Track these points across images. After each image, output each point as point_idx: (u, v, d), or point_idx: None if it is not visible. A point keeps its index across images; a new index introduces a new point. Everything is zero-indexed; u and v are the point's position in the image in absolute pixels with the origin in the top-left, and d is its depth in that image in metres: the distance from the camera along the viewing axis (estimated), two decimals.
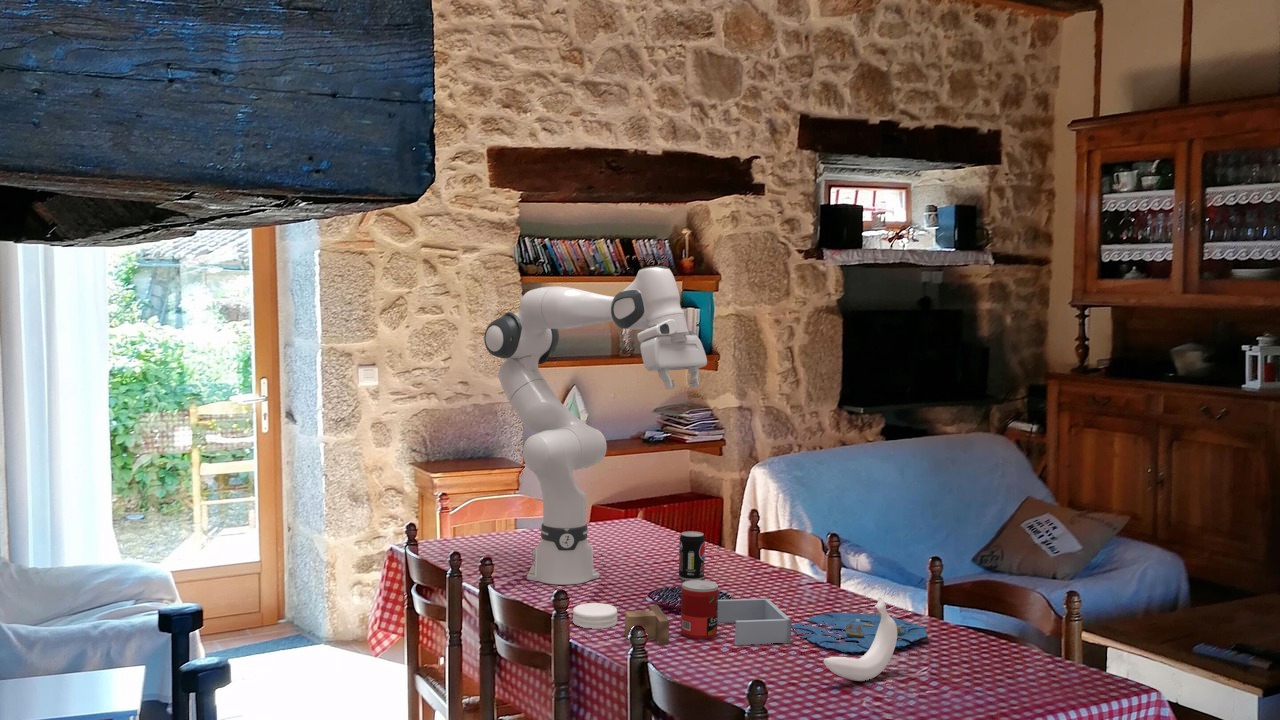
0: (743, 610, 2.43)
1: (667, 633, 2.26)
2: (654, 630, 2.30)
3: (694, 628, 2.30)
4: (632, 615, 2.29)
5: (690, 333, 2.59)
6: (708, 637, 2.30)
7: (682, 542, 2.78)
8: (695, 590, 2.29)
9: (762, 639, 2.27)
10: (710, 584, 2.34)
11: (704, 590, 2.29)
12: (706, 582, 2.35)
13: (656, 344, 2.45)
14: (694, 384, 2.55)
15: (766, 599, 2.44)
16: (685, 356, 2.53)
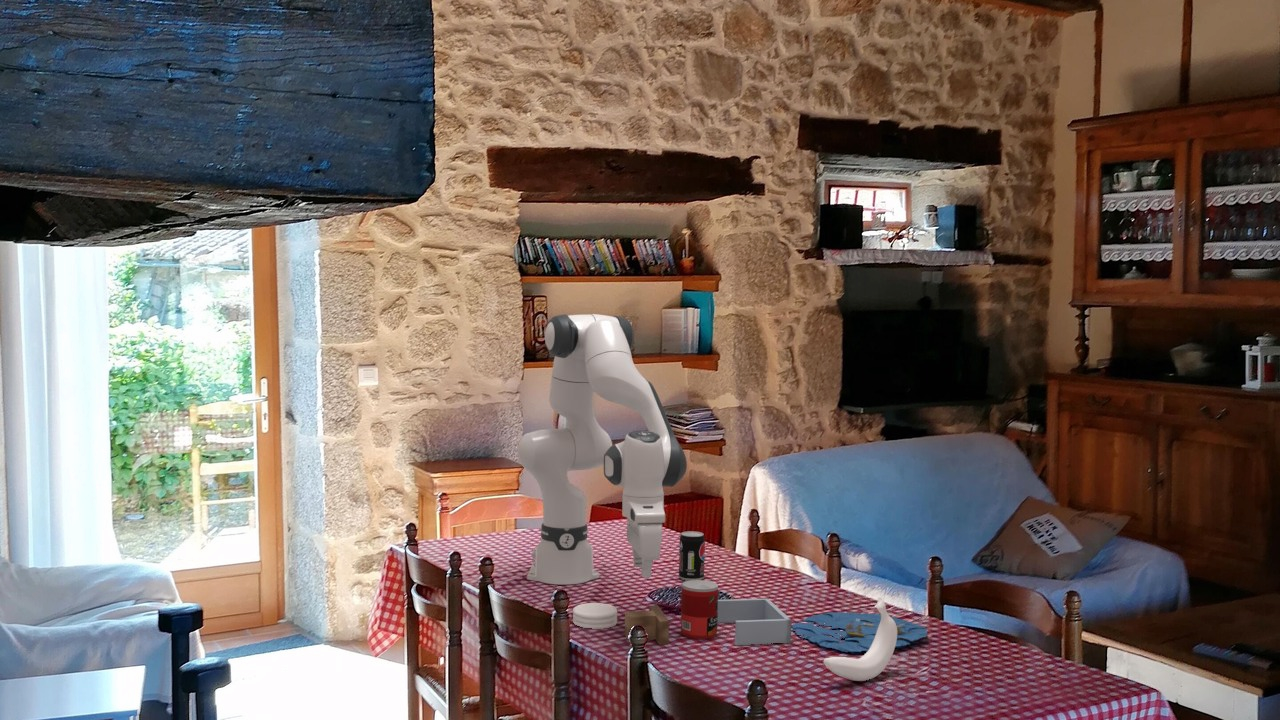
0: (743, 610, 2.43)
1: (667, 633, 2.26)
2: (654, 630, 2.30)
3: (694, 628, 2.30)
4: (632, 615, 2.29)
5: None
6: (708, 637, 2.30)
7: (682, 542, 2.78)
8: (695, 590, 2.29)
9: (762, 639, 2.27)
10: (710, 584, 2.34)
11: (704, 590, 2.29)
12: (706, 582, 2.35)
13: (661, 533, 2.21)
14: (641, 565, 2.34)
15: (766, 599, 2.44)
16: None
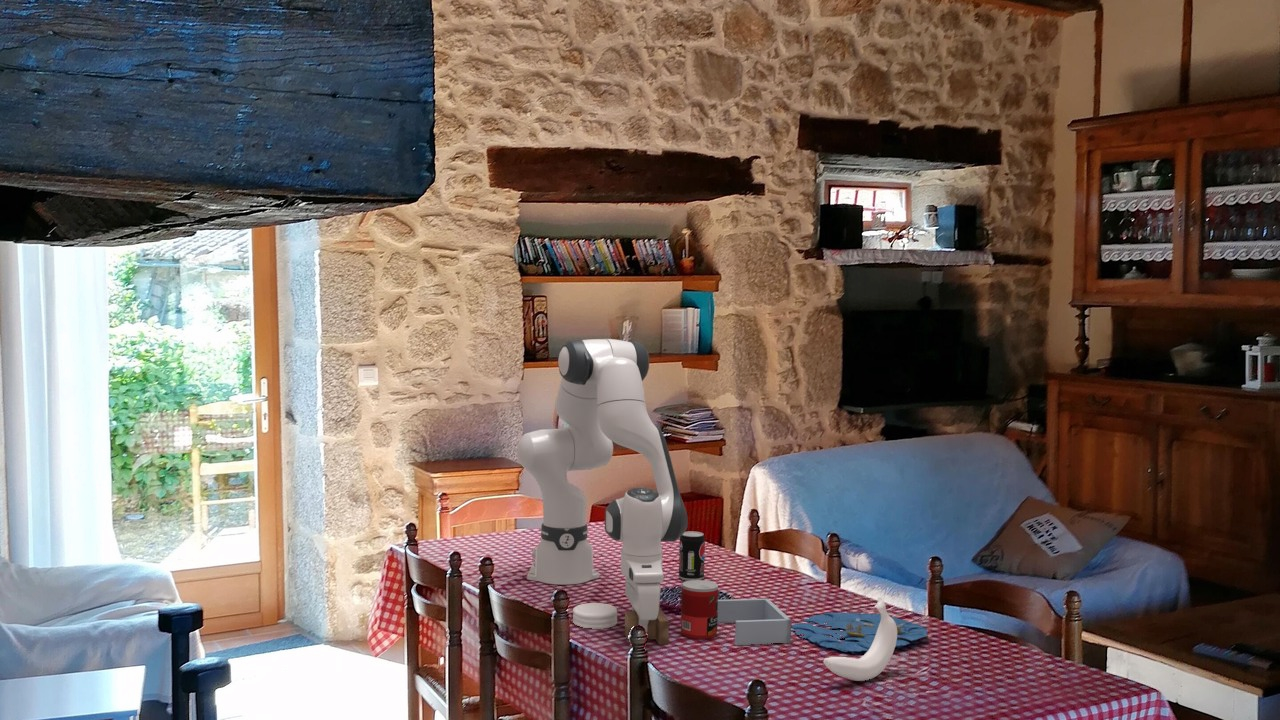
0: (743, 610, 2.43)
1: (667, 633, 2.26)
2: (654, 630, 2.30)
3: (694, 628, 2.30)
4: (632, 615, 2.29)
5: None
6: (708, 637, 2.30)
7: (682, 542, 2.78)
8: (695, 590, 2.29)
9: (762, 639, 2.27)
10: (710, 584, 2.34)
11: (704, 590, 2.29)
12: (706, 582, 2.35)
13: None
14: None
15: (766, 599, 2.44)
16: None
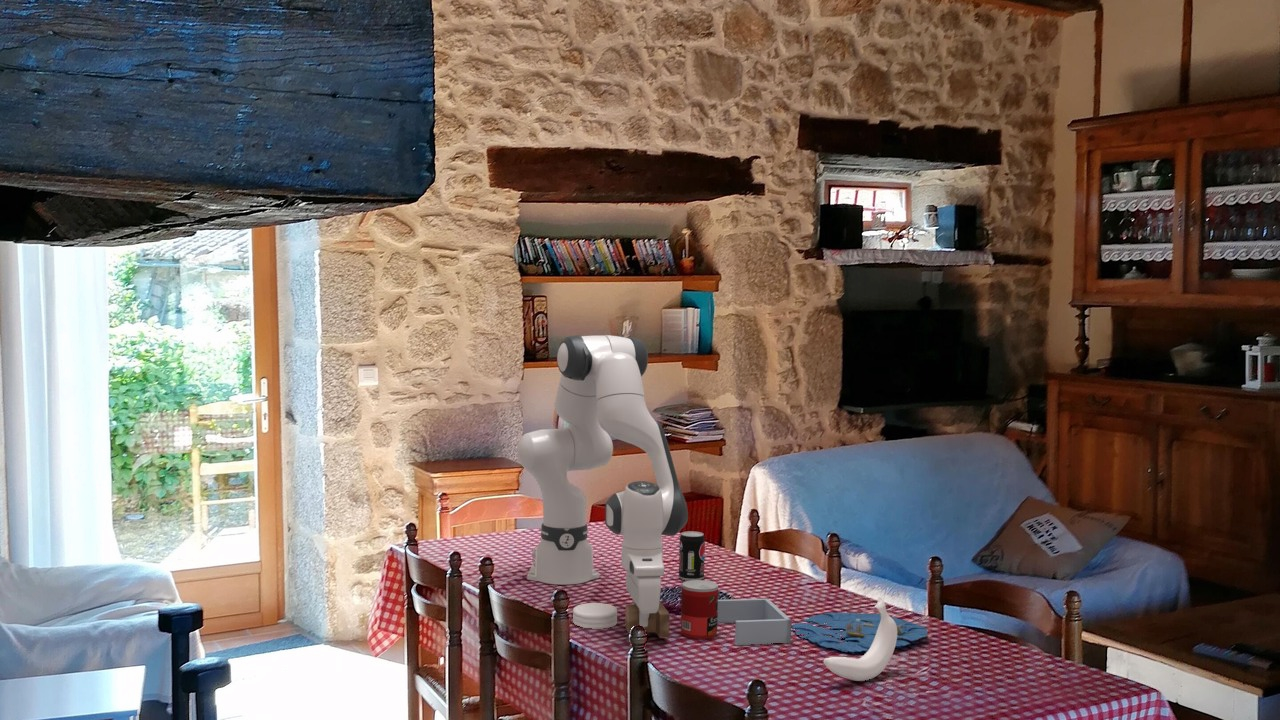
0: (743, 610, 2.43)
1: (668, 626, 2.26)
2: (655, 623, 2.30)
3: (694, 628, 2.30)
4: (633, 608, 2.29)
5: None
6: (708, 637, 2.30)
7: (682, 542, 2.78)
8: (695, 590, 2.29)
9: (762, 639, 2.27)
10: (710, 584, 2.34)
11: (704, 590, 2.29)
12: (706, 582, 2.35)
13: (660, 587, 2.22)
14: None
15: (766, 599, 2.44)
16: None
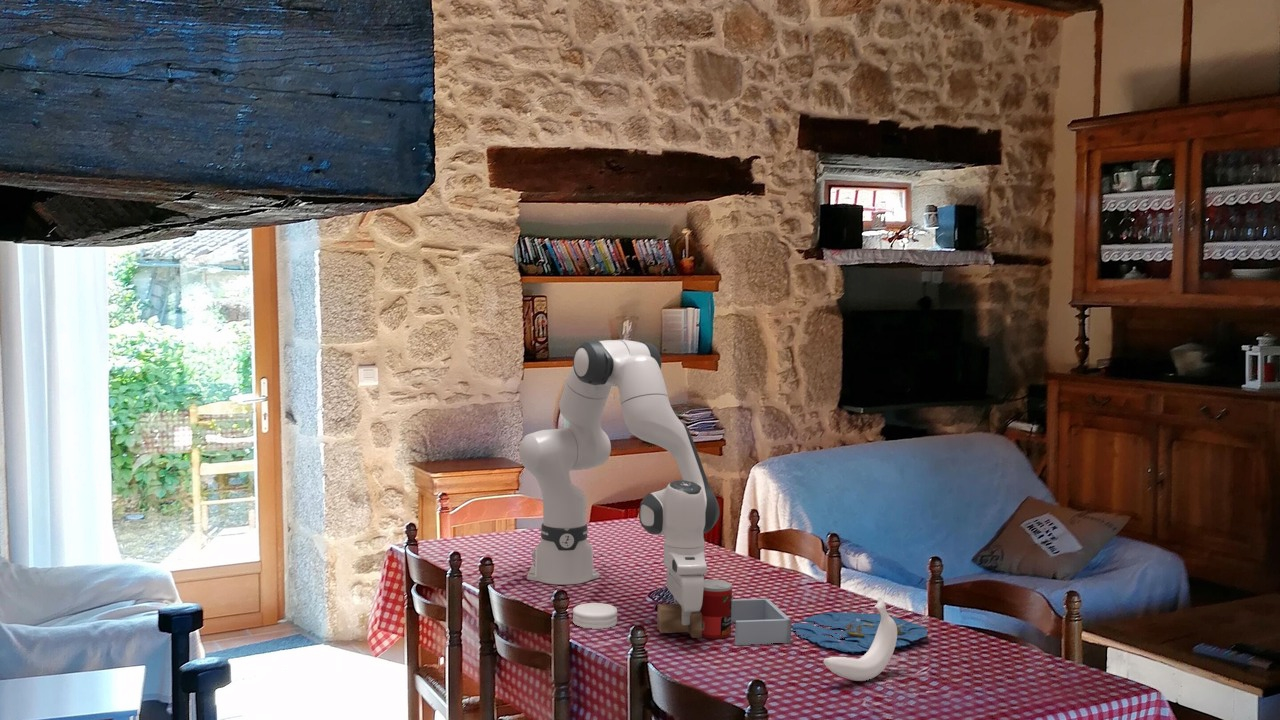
0: (743, 610, 2.43)
1: (700, 626, 2.27)
2: None
3: (708, 628, 2.30)
4: (665, 608, 2.31)
5: None
6: (722, 636, 2.31)
7: None
8: (709, 590, 2.30)
9: (762, 639, 2.27)
10: (724, 584, 2.35)
11: (718, 590, 2.30)
12: (720, 582, 2.36)
13: (703, 585, 2.24)
14: None
15: (766, 599, 2.44)
16: None
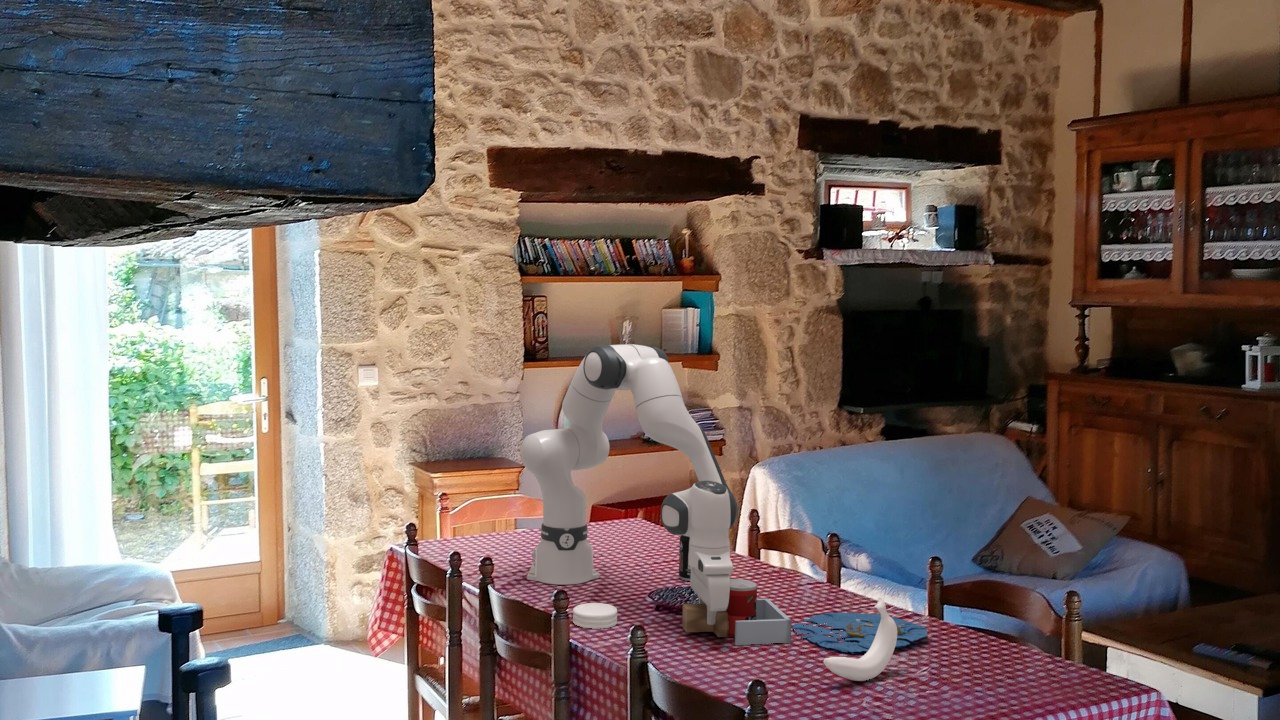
0: None
1: (726, 625, 2.28)
2: None
3: (732, 627, 2.31)
4: (690, 608, 2.32)
5: None
6: None
7: (682, 542, 2.78)
8: (733, 589, 2.31)
9: (762, 639, 2.27)
10: (749, 583, 2.35)
11: (742, 589, 2.31)
12: (745, 581, 2.37)
13: (729, 585, 2.25)
14: None
15: (766, 599, 2.44)
16: None
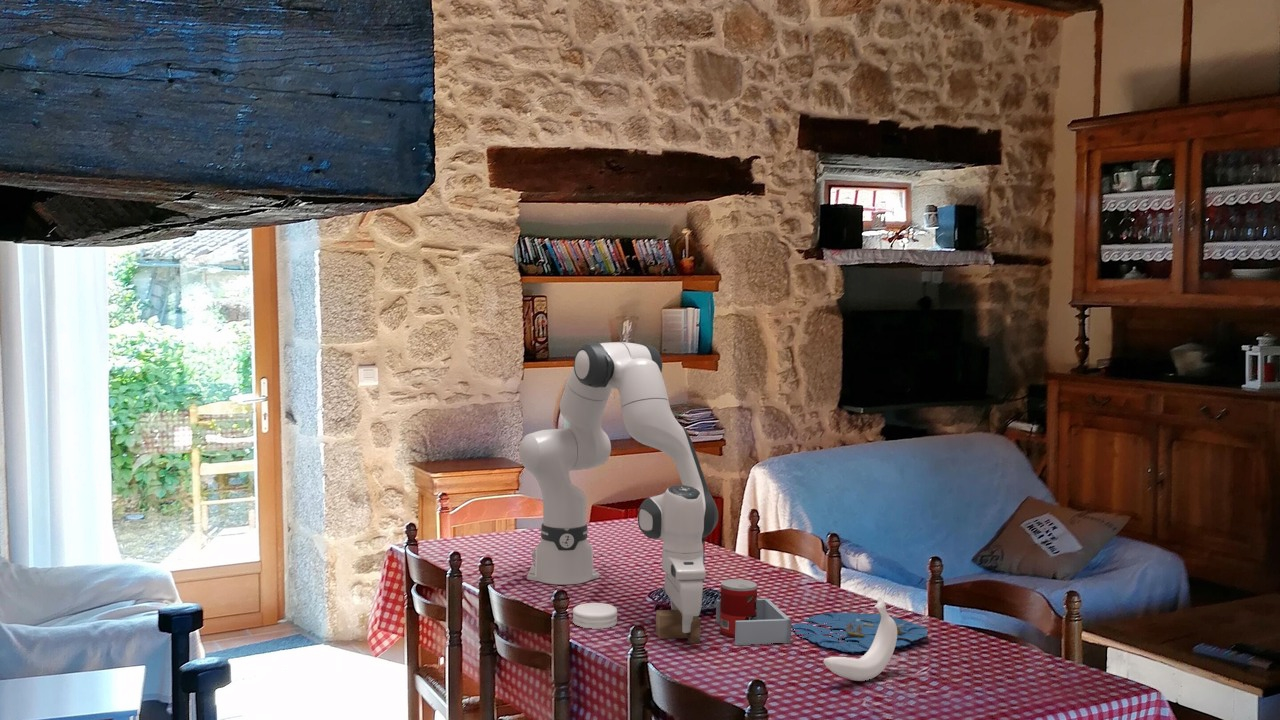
0: None
1: (699, 632, 2.27)
2: None
3: (732, 627, 2.31)
4: (663, 614, 2.31)
5: None
6: None
7: None
8: (733, 589, 2.31)
9: (762, 639, 2.27)
10: (749, 583, 2.35)
11: (742, 589, 2.31)
12: (746, 581, 2.37)
13: (702, 590, 2.24)
14: None
15: (766, 599, 2.44)
16: None
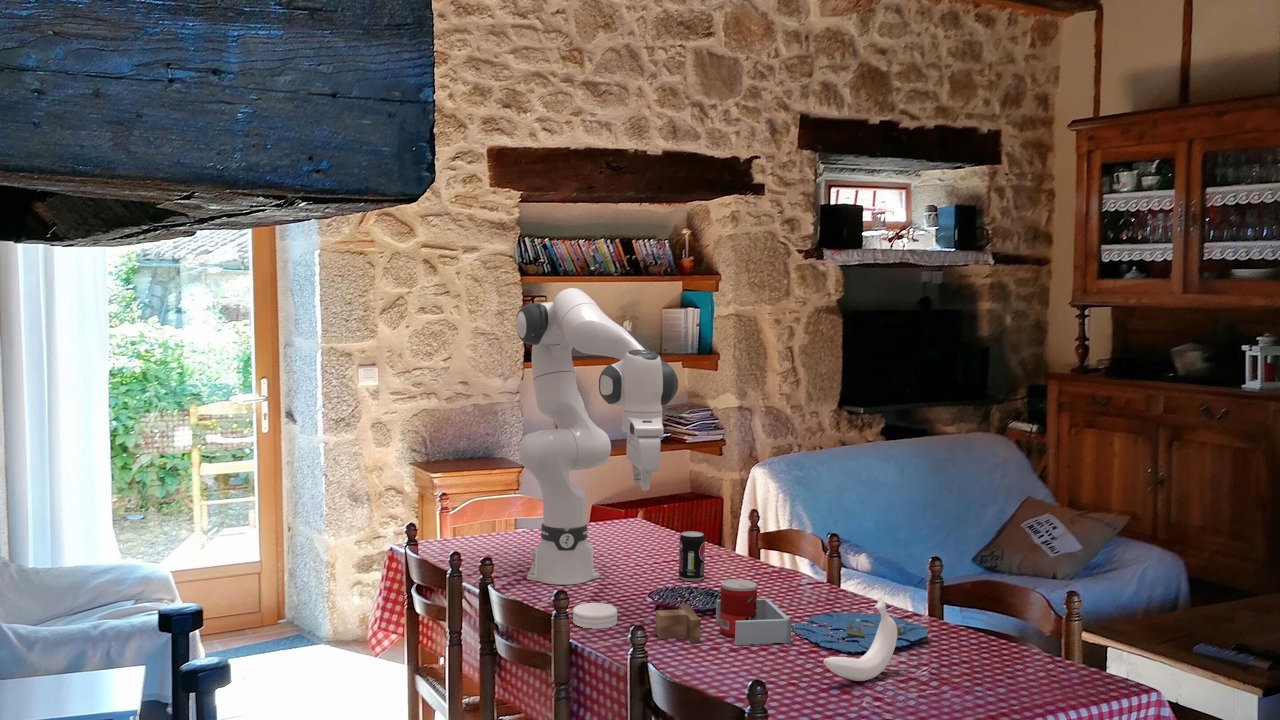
0: None
1: (699, 632, 2.27)
2: (685, 629, 2.31)
3: (732, 627, 2.31)
4: (663, 614, 2.31)
5: None
6: None
7: (682, 542, 2.78)
8: (734, 589, 2.31)
9: (762, 639, 2.27)
10: (749, 583, 2.35)
11: (742, 589, 2.31)
12: (746, 581, 2.37)
13: None
14: (640, 481, 2.42)
15: (766, 599, 2.44)
16: None
